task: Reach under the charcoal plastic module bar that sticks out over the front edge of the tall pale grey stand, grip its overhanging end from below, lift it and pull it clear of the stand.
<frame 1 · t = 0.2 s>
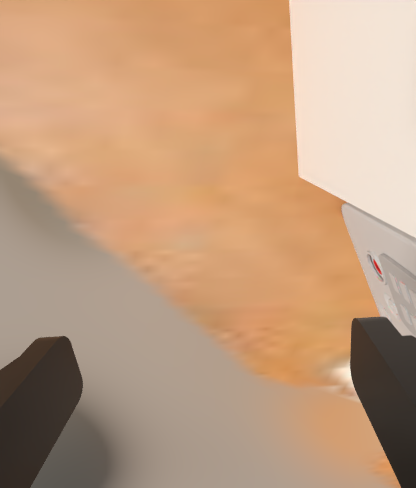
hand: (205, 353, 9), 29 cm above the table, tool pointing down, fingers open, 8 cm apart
tall stand: (359, 66, 31), on the table
rounded white slab: (395, 293, 39), on the table
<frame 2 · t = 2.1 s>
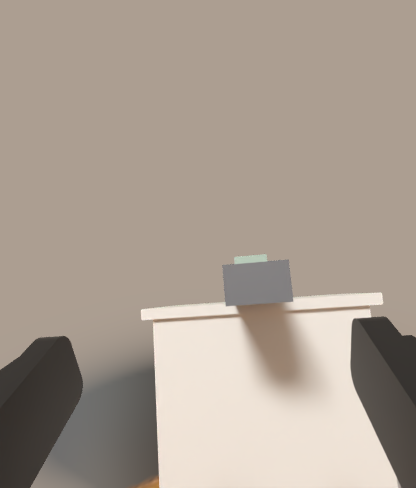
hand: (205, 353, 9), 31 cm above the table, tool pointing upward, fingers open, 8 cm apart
module bar: (255, 301, 30), point 32 cm above the table, touching tall stand
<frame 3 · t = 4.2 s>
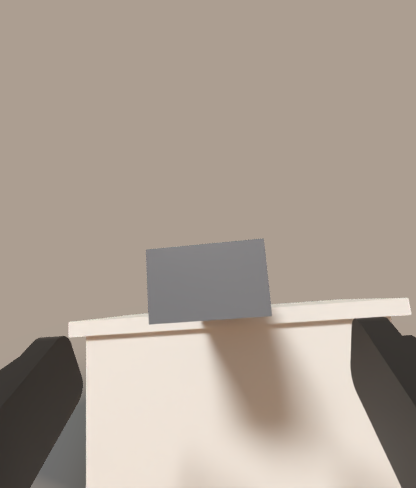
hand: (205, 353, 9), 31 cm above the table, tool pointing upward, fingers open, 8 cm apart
module bar: (229, 310, 22), point 32 cm above the table, touching tall stand
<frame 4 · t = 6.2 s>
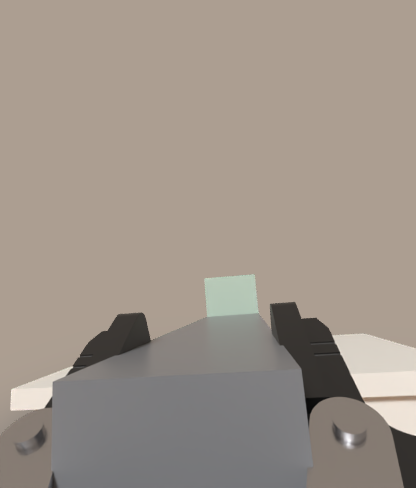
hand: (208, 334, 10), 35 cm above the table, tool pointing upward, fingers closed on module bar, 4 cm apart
module bar: (229, 371, 16), point 32 cm above the table, touching gripper, tall stand
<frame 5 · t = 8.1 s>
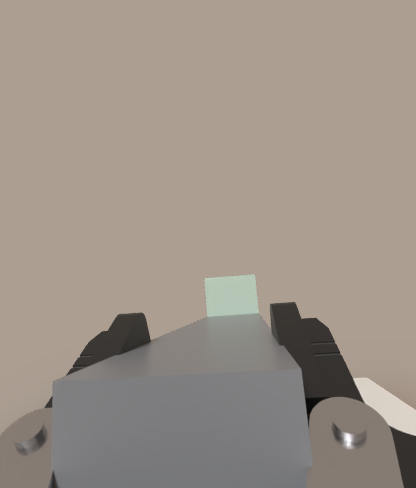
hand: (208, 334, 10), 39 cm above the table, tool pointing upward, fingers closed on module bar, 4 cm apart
module bar: (229, 371, 16), point 36 cm above the table, touching gripper
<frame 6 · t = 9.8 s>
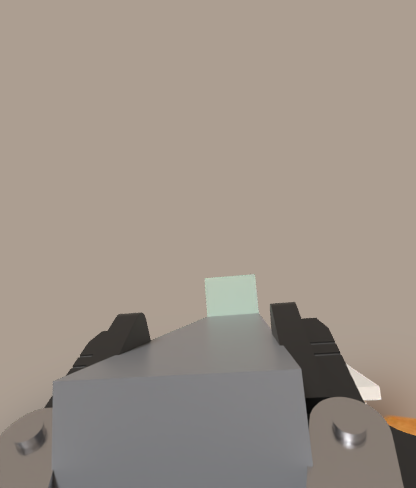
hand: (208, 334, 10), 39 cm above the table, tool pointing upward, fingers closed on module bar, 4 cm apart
module bar: (229, 371, 16), point 36 cm above the table, touching gripper
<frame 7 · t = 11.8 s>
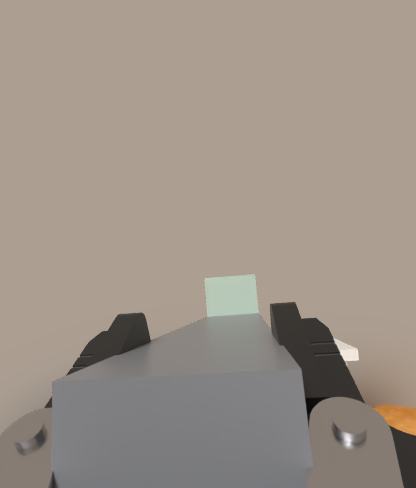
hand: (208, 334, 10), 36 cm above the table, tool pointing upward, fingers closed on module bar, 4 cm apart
module bar: (229, 371, 16), point 34 cm above the table, touching gripper
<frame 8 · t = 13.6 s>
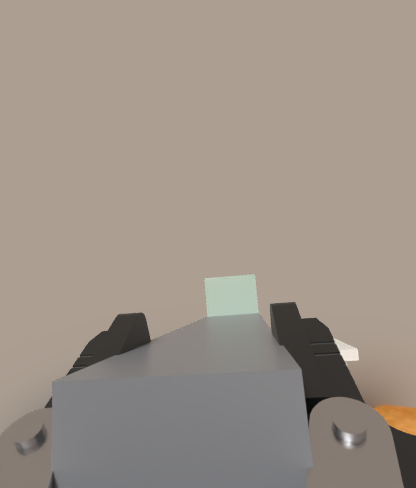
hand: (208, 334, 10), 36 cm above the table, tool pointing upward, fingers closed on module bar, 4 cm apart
module bar: (229, 371, 16), point 34 cm above the table, touching gripper
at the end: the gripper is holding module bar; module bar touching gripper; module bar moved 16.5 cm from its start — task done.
